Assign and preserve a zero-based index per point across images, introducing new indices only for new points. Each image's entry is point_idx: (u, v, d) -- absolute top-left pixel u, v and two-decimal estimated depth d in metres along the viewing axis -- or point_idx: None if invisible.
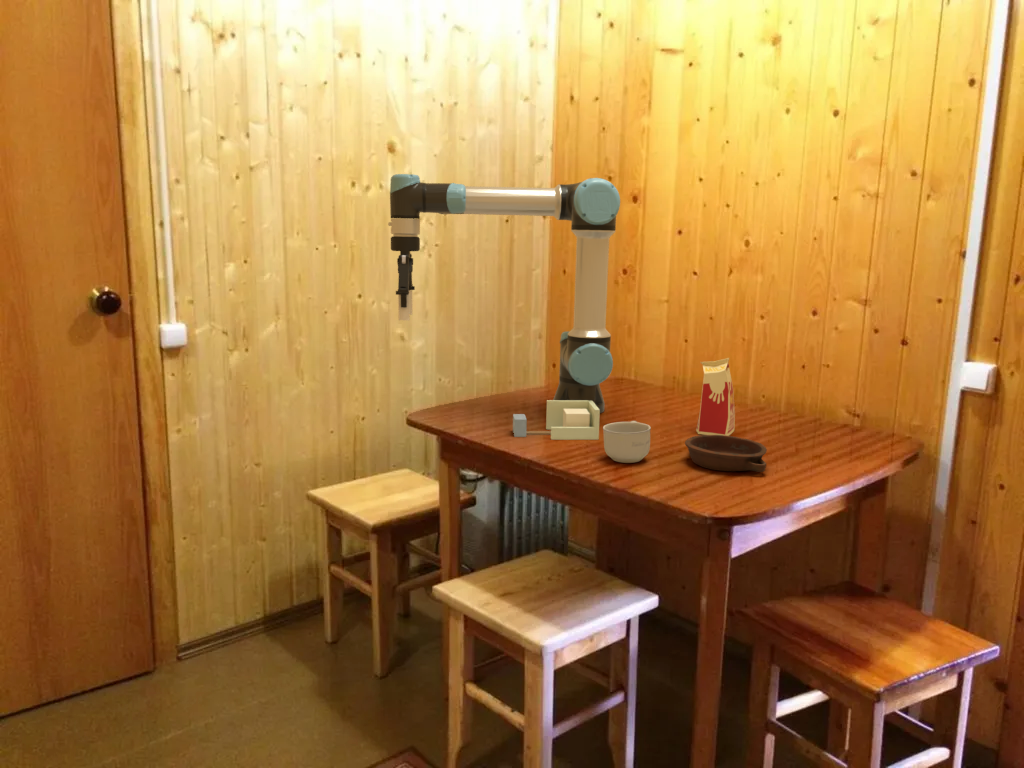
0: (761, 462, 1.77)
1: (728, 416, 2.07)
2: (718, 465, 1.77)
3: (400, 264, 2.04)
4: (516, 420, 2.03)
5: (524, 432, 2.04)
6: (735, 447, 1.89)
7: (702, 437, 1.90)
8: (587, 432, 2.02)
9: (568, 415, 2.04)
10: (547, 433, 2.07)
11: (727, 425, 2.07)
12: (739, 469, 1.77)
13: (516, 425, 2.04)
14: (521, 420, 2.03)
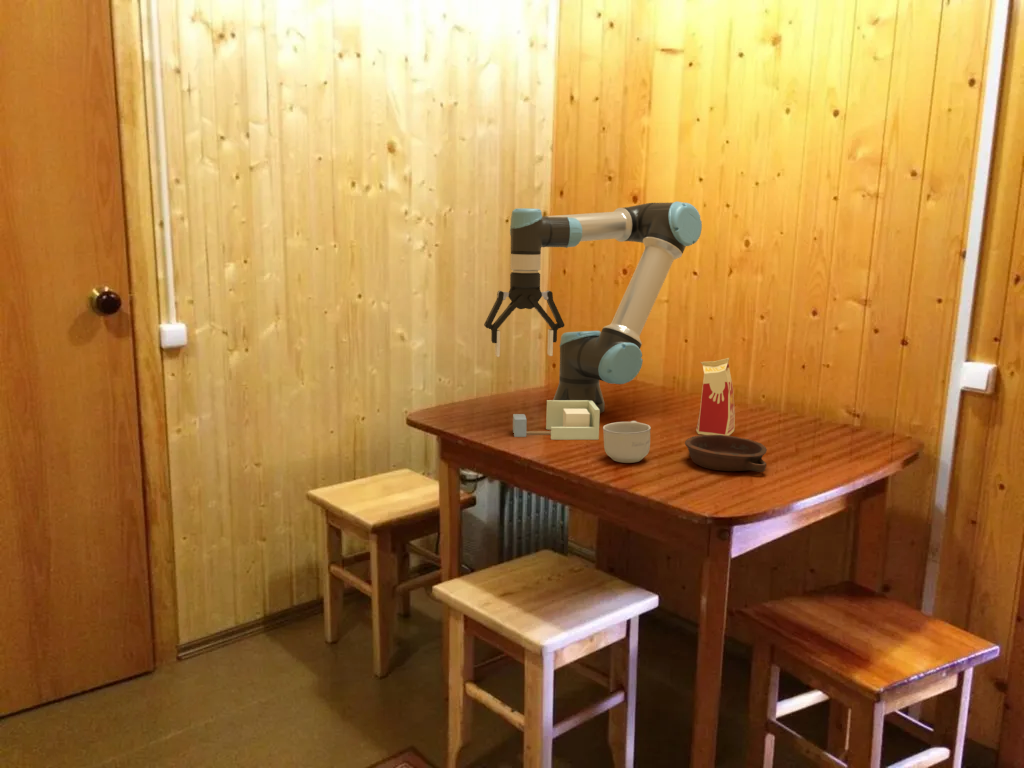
0: (761, 462, 1.77)
1: (728, 416, 2.07)
2: (718, 465, 1.77)
3: None
4: (516, 420, 2.03)
5: (524, 432, 2.04)
6: (735, 447, 1.89)
7: (702, 437, 1.90)
8: (587, 432, 2.02)
9: (568, 415, 2.04)
10: (547, 433, 2.07)
11: (727, 425, 2.07)
12: (739, 469, 1.77)
13: (516, 425, 2.04)
14: (521, 420, 2.03)
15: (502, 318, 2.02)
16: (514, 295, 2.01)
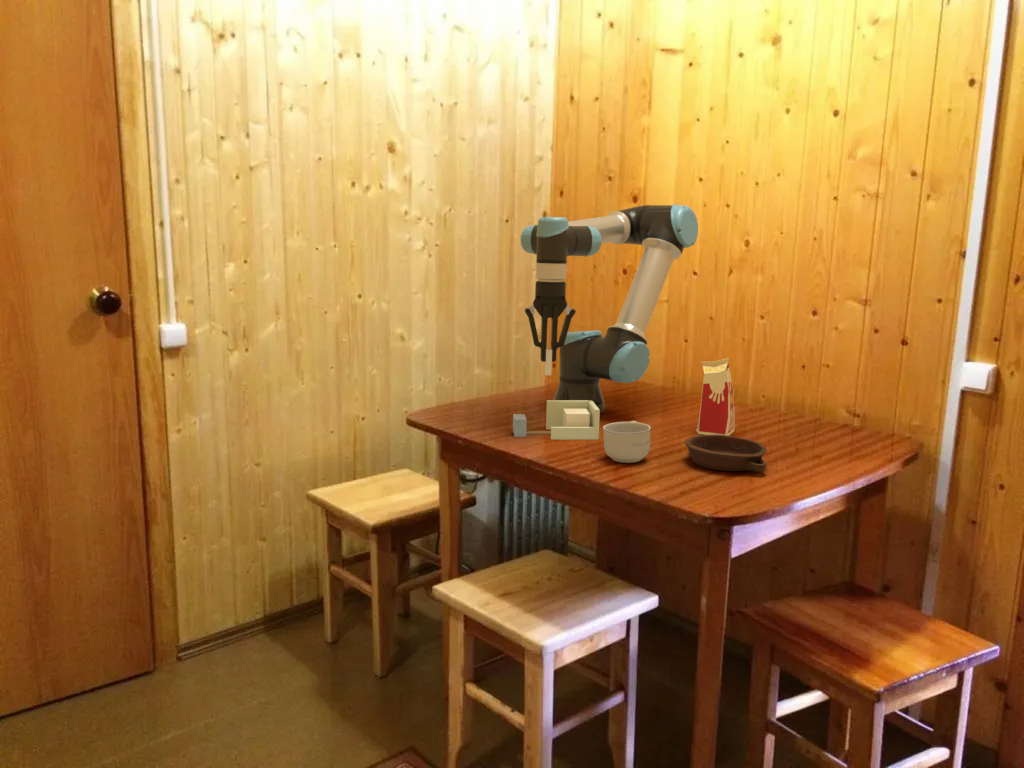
0: (761, 462, 1.77)
1: (728, 416, 2.07)
2: (718, 465, 1.77)
3: (528, 317, 2.02)
4: (516, 420, 2.03)
5: (524, 432, 2.04)
6: (735, 447, 1.89)
7: (702, 437, 1.90)
8: (587, 432, 2.02)
9: (568, 415, 2.04)
10: (547, 433, 2.07)
11: (727, 425, 2.07)
12: (739, 469, 1.77)
13: (516, 425, 2.04)
14: (521, 420, 2.03)
15: (543, 334, 2.01)
16: (539, 303, 2.00)
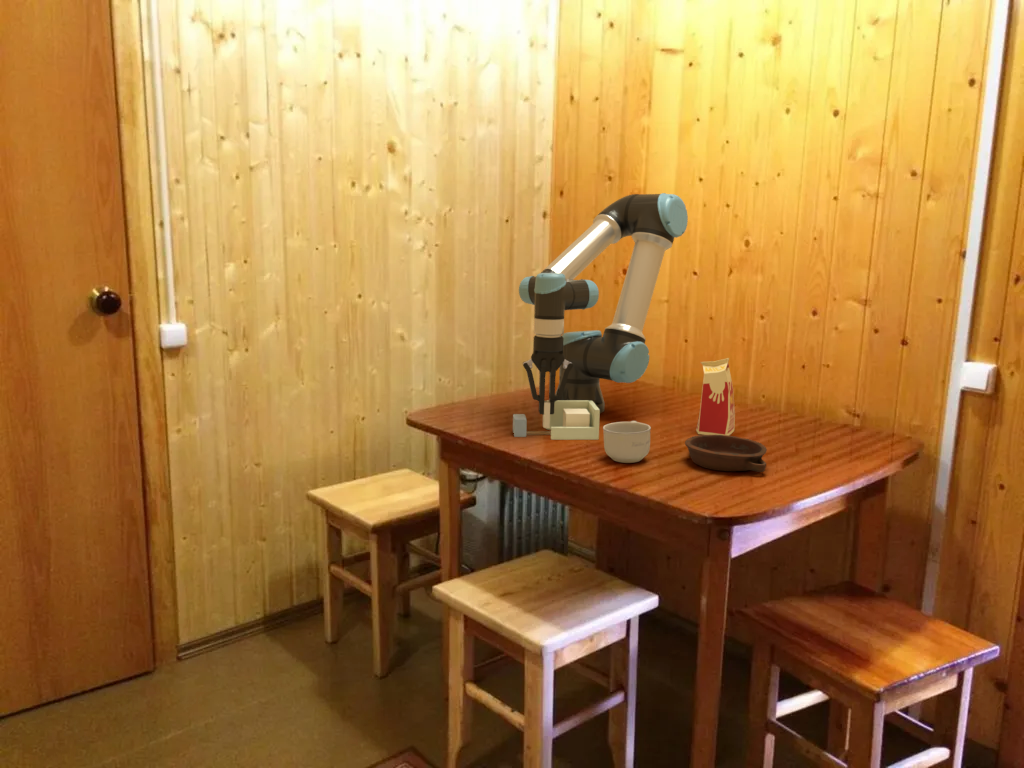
0: (761, 462, 1.77)
1: (728, 416, 2.07)
2: (718, 465, 1.77)
3: None
4: (516, 420, 2.03)
5: (524, 432, 2.04)
6: (735, 447, 1.89)
7: (702, 437, 1.90)
8: (587, 432, 2.02)
9: (568, 415, 2.04)
10: (547, 433, 2.07)
11: (727, 425, 2.07)
12: (739, 469, 1.77)
13: (516, 425, 2.04)
14: (521, 420, 2.03)
15: (541, 388, 2.04)
16: (537, 358, 2.03)
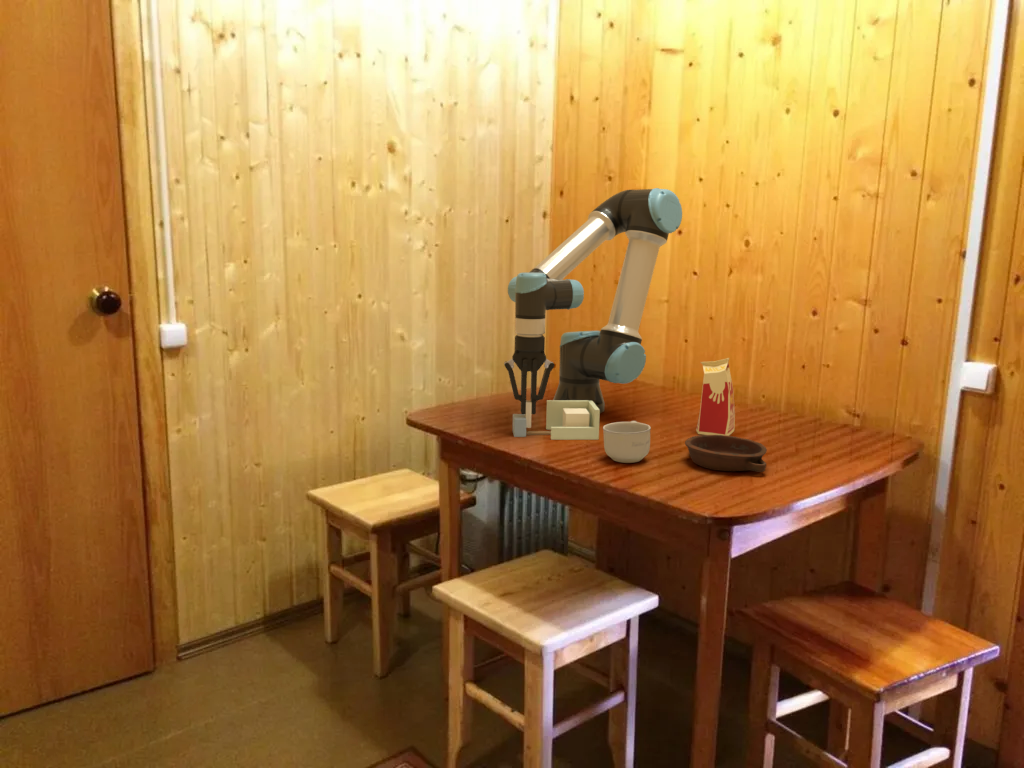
0: (761, 462, 1.77)
1: (728, 416, 2.07)
2: (718, 465, 1.77)
3: (508, 371, 2.04)
4: (516, 420, 2.03)
5: (524, 432, 2.04)
6: (735, 447, 1.89)
7: (702, 437, 1.90)
8: (587, 432, 2.02)
9: (568, 415, 2.04)
10: (547, 433, 2.07)
11: (727, 425, 2.07)
12: (739, 469, 1.77)
13: (516, 425, 2.03)
14: (521, 420, 2.03)
15: (523, 387, 2.04)
16: (518, 358, 2.02)
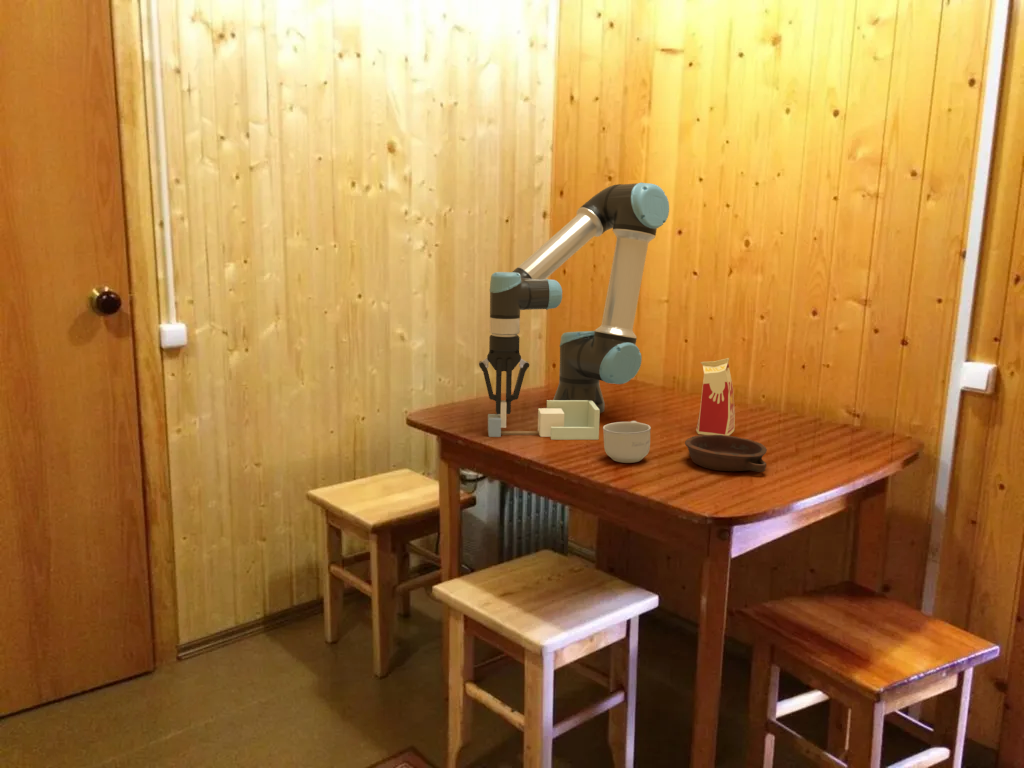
0: (761, 462, 1.77)
1: (728, 416, 2.07)
2: (718, 465, 1.77)
3: None
4: (490, 420, 2.03)
5: (498, 432, 2.04)
6: (735, 447, 1.89)
7: (702, 437, 1.90)
8: (587, 432, 2.02)
9: (542, 415, 2.04)
10: (522, 433, 2.06)
11: (727, 425, 2.07)
12: (739, 469, 1.77)
13: (490, 425, 2.03)
14: (495, 420, 2.03)
15: (498, 387, 2.03)
16: (492, 357, 2.02)
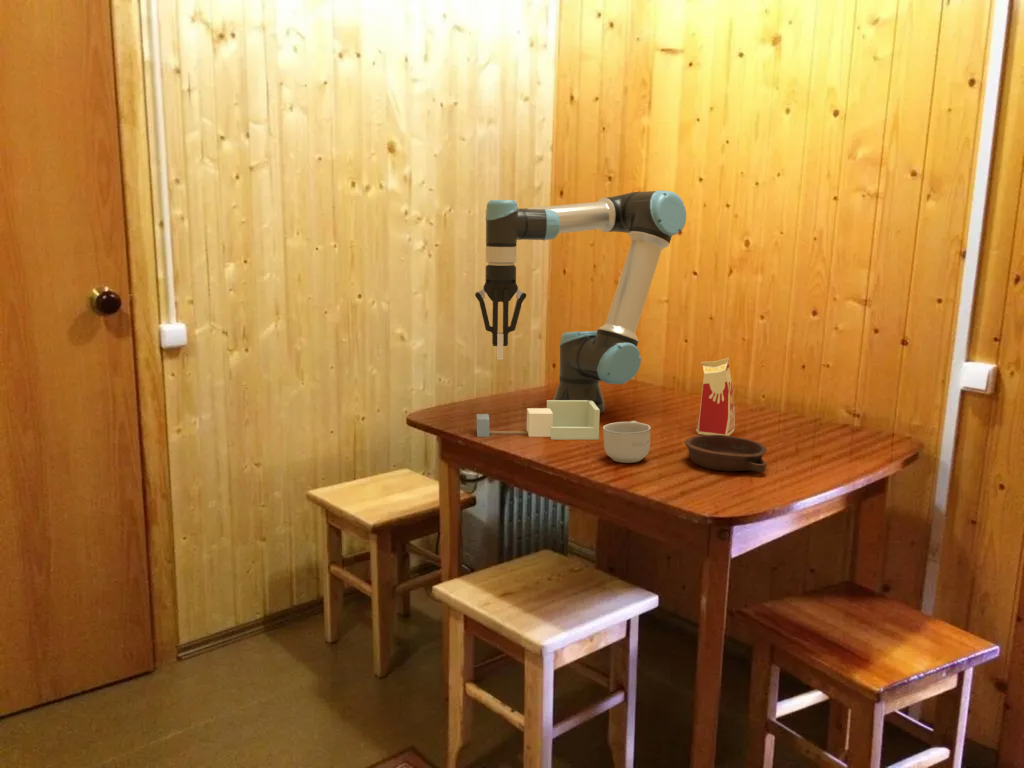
0: (761, 462, 1.77)
1: (728, 416, 2.07)
2: (718, 465, 1.77)
3: None
4: (479, 420, 2.03)
5: (487, 432, 2.03)
6: (735, 447, 1.89)
7: (702, 437, 1.90)
8: (587, 432, 2.02)
9: (531, 415, 2.03)
10: (510, 433, 2.06)
11: (727, 425, 2.07)
12: (739, 469, 1.77)
13: (479, 425, 2.03)
14: (484, 420, 2.03)
15: (494, 318, 2.00)
16: (489, 287, 1.99)
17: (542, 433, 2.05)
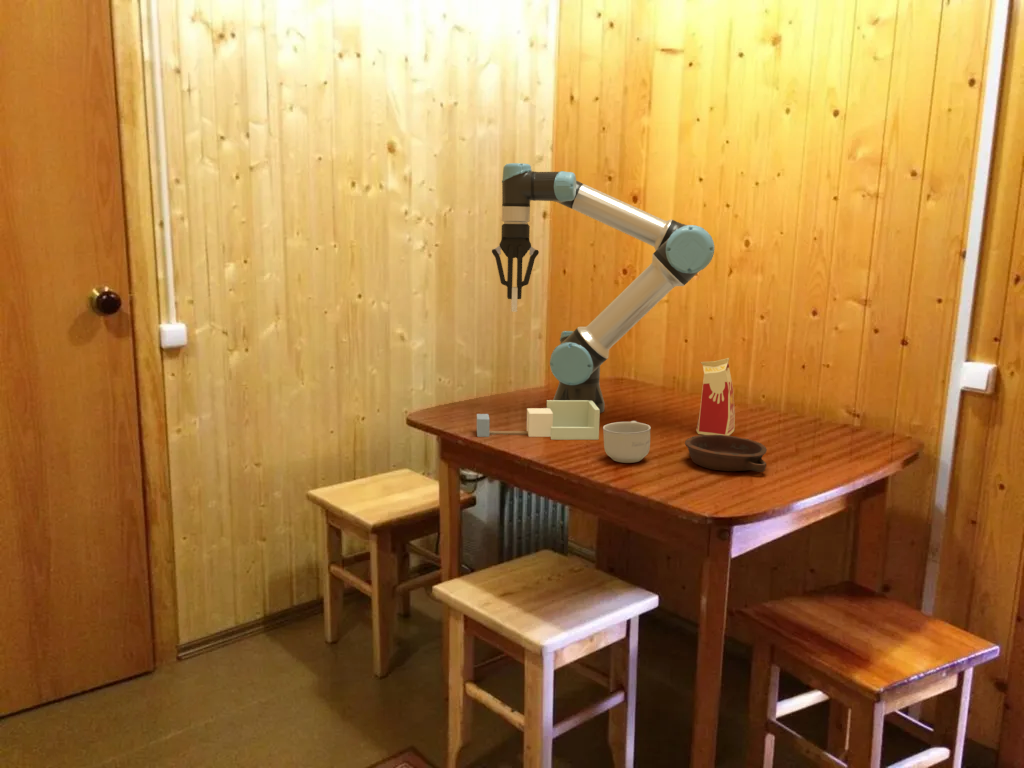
0: (761, 462, 1.77)
1: (728, 416, 2.07)
2: (718, 465, 1.77)
3: (495, 258, 2.19)
4: (479, 420, 2.03)
5: (487, 432, 2.03)
6: (735, 447, 1.89)
7: (702, 437, 1.90)
8: (587, 432, 2.02)
9: (531, 415, 2.03)
10: (510, 433, 2.06)
11: (727, 425, 2.07)
12: (739, 469, 1.77)
13: (479, 425, 2.03)
14: (484, 420, 2.03)
15: (509, 273, 2.18)
16: (504, 244, 2.16)
17: (542, 433, 2.05)
